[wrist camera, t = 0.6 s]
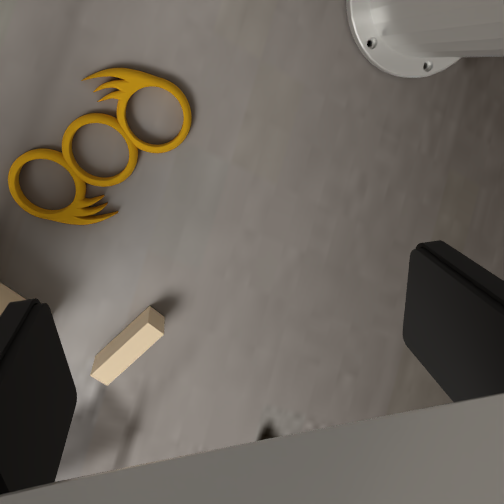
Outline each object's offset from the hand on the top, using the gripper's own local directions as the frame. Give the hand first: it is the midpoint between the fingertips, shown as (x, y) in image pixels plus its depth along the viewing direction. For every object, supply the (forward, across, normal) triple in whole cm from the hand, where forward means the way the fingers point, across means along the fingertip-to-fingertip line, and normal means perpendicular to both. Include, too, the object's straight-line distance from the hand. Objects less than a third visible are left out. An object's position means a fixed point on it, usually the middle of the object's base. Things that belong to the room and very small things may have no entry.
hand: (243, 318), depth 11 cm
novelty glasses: (+28, +8, 0) cm, 29 cm away
